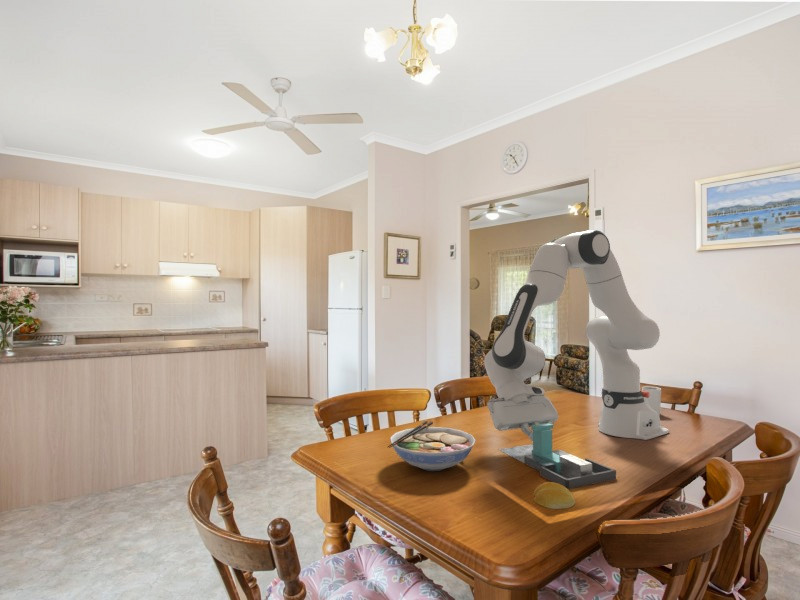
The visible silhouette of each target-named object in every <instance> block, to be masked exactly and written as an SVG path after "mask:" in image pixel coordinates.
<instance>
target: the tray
mask: <svg viewBox="0 0 800 600" xmlns="http://www.w3.org/2000/svg"><path fill="white" fill-rule="evenodd" d="M584 460H585V461H587V462H590V463H592V474H589V475H584V476H579V477H574V478H570V477H568V476H566V475H564V474H562V473H560V472H552V471H550V470H548V469H546V468H544V467H542V466H541V467H540V471H539V476H540V477H543V478H545V479H547V480H548V481H549V482H554V483H558V484H560V485H563V486H564V487H566V488H567V489H568V490H570V489H576V488H580V487H585V486H589V485H594V484H599V483H603V482H610V481H613V480H616V479H617V471H616V469H613V468H612V467H608V466H606V465H604V464H602V463H599V462H597V461H594V460H592V459H589V458H584Z"/></svg>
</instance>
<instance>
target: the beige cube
mask: <svg viewBox="0 0 800 600" xmlns="http://www.w3.org/2000/svg"><path fill="white" fill-rule="evenodd" d="M580 458H581V457H579V458H578V456H576V455H574V456H573V454H571V453H569V455H563V456H559V465H560V473H562V474H564V475H566V476H568V477H570V461H571V460H577V459H580Z"/></svg>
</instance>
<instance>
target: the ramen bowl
mask: <svg viewBox="0 0 800 600" xmlns="http://www.w3.org/2000/svg"><path fill="white" fill-rule="evenodd" d="M433 422H434V421H430V422H428V421H427V420H425V421H423V422H422V423H421V424H419V425H417V426H416V427H414V428H413V427H412V428H406V429H404V430H400V431H397V432H394V433H393V434H392V435H391V436H390V437H389V438H390V443H391V444H389V445H388V446H387V448H389V449H390V448H393V449H394V451H395V452H396V454H397V455H398V456H399V458H400V459H402V461H405V462H406V463H407V464H409V465H410V466H413V467H417V468H420V469H421V470H423V471H429V472H438V471H443V470H445V469H448V468H451V467H455V466H456V465H458V464H460V463H462V462H463V461H464V460H465V459H466V458H468V456H469V454H470V453H471V451H472V449H473V446H474V445H475V443H476V438H475V437H474V436H473V434H470V433H468V432H466V431H463V430H460V429H455V428H450V427H440V426H439V427H438V426H432V425H433V424H434V423H433Z"/></svg>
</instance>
